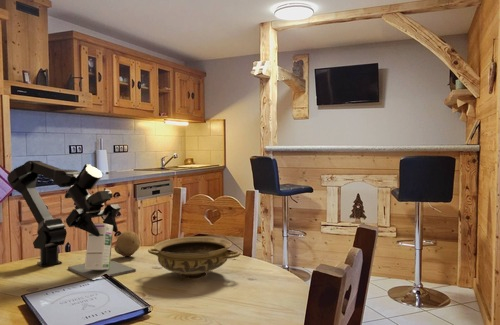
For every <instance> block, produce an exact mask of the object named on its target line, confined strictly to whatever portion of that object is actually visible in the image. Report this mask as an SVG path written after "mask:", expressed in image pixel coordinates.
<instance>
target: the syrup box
mask: <svg viewBox="0 0 500 325" xmlns="http://www.w3.org/2000/svg"><path fill="white" fill-rule="evenodd" d="M93 223H94V225H95V226H96V228H97V230H98V231H99V233H100V235H99V236H98V237H97V236H95V235H93V234H91V233H89V232H87V242H86V251H85V252H86V253H85V262H84V263H85V269H86V270H109V269H110V260H111V256H112V246H113V245H112V244H113V235H114V234H113V232H114V231H113V225H109V224H105V223H103V222H96V223H95V222H93Z"/></svg>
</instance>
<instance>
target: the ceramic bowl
mask: <svg viewBox="0 0 500 325" xmlns="http://www.w3.org/2000/svg"><path fill="white" fill-rule="evenodd" d="M232 245H233V243H232V241H230V240H229V239H225V238H223V237H214V236H183V237H177V238H176V237H175V238H171V239H170V238H169V239H166V240H163V241H160V242H158V243H156V244H154V246H153V248H148V250H147V251H148V253H149V254H151V255H154V256H156V257H157V261H158V263H159V265H160V266H161V268H164V269H166V270H167V271H170V272H172V273H177V274H180V277H181V278H182V279H186V280H195V279H196V280H197V279H202V278H205V277H206V276H207V275H208V274H207V272H210V271H213V270H215V269H216V270H217V269H218V268H220V267H221V266H223V265H224V264H225V263H226V262H227V261H228V259H233V258H234V259H235V258H238V257H239V256H241V252H240V251H228V249H230V248H231V247H232Z"/></svg>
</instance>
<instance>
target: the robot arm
mask: <svg viewBox="0 0 500 325" xmlns="http://www.w3.org/2000/svg"><path fill="white" fill-rule="evenodd" d="M40 176H42V177H45V178H47V179H50V180H51V181H52V182H53V184H55V185H56V186H58V187H59V188H68V189H67V190H65V194H64V199H71V200H72V201H73V202H74V204H75V207H74V209H72V210H71V211H70V213H69V214H68V216H67V217H66V218H65V224H66V225H67V227H68V228H71V227H74V228H75V229H79V230H82V231H85V232H87V233H88V232H89V233H91V234H93V235H95V236H97V237H98V236H99V235H100V233H99V231H98V230H97V228H96V226H95V225H94V223H95V222H94V221H93V220H92V219H93V218H99V217H101V219H102V223H105V224H109V225H113V232H114V233H117V232H119V227H118V224H117V221H116V216H117V214H118V213H119V212H120V211H121V209H122V208H121V207H120V205H119V204H118V203H111V204H107V205H106V206H105V204H104V203H107V202H109V201H111V200H112V198H113V192H112V191H111V189H104V190H98V191H96V192H94V193H93V194H92V193H90V191H89V190H93V189H94V188H95V186H96V185H97V184H98V183H99V181H100V180H101V178H102V177H103V172H102V171H101V170H100V169H98V168H96V167H95V166H92V164H90V163H87V164H84V166H83V167H82V169H81V170H80V171H79V170H75V169H74V170H73V169H63V168H59V167H55V166H53V165H52V164H51V165H50V164H47V163H46V162H43V161H40V160H28V161H26V162H25V163H24V164H22V165H19V166H18V167H15V168H14V169H12V170H11V171H10V172H9V173H8V174H7V177H6V178H7V182H8V184H9V186H11V188H12V189H13V191H16V192H18V193H19V194H21V196H22V198H23V199H24V201H25V202H26V206H28V209H29V210H30V212H31V214H32V215H33V218H34V219H35V221H36V223H37V231H36V234H37V237H36V238H35V239H34V240H33V241H32V244H33V248H34V249H36V250H37V249H38V250H40V252H39V253H40V257H39V260H40V261H38V262H37V263H36V265H38V266H40V267H42V268H44V267H49V266H54V265H59V264H60V265H61V264H63V261H62V260H59V246H64V245H65V242H66V238H67V233H68V232H67V229H66V225H65V224H64V223H63V220H62V219H61V218H54V217H53V216H52V214H51V213H50V211H49V209H48V207H47V205H46V204H45V202H44V200H43V198H42V197H41V195H40V194H39V192H38V189H37V188H36V186H37V181H38V180H37V179H38V178H39V177H40ZM104 206H105V207H104ZM103 207H104V209H102V208H103Z"/></svg>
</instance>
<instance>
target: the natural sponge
mask: <svg viewBox="0 0 500 325" xmlns="http://www.w3.org/2000/svg"><path fill="white" fill-rule="evenodd" d="M140 246H141V240H140V237H139V235H138V234H137V233H136V232H134V231H132V230H126V231H125V230H124V231H123V232H122V233H120V234H119V236H118V237H117V239H116V241H115V244H114V252H116V253H117V254H118V255H120V256H122V257H124V256H130V257H132V256H133V255H134V254H135V253H137V251H138V250H139V248H140ZM131 255H132V256H131Z"/></svg>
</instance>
